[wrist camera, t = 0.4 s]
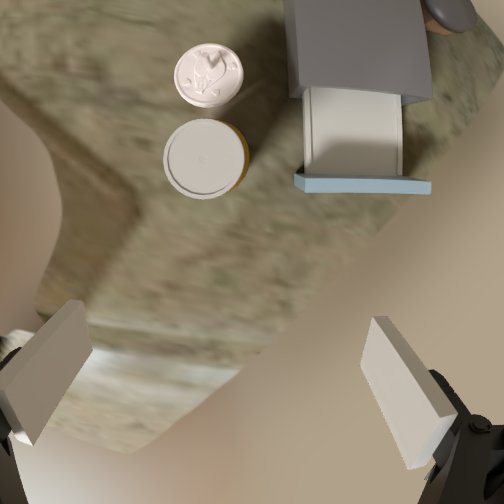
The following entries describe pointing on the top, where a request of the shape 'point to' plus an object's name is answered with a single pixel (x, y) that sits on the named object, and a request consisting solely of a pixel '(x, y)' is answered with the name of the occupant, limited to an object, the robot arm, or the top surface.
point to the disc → (452, 14)
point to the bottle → (206, 158)
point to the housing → (358, 47)
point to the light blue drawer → (354, 143)
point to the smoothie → (208, 75)
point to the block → (432, 22)
